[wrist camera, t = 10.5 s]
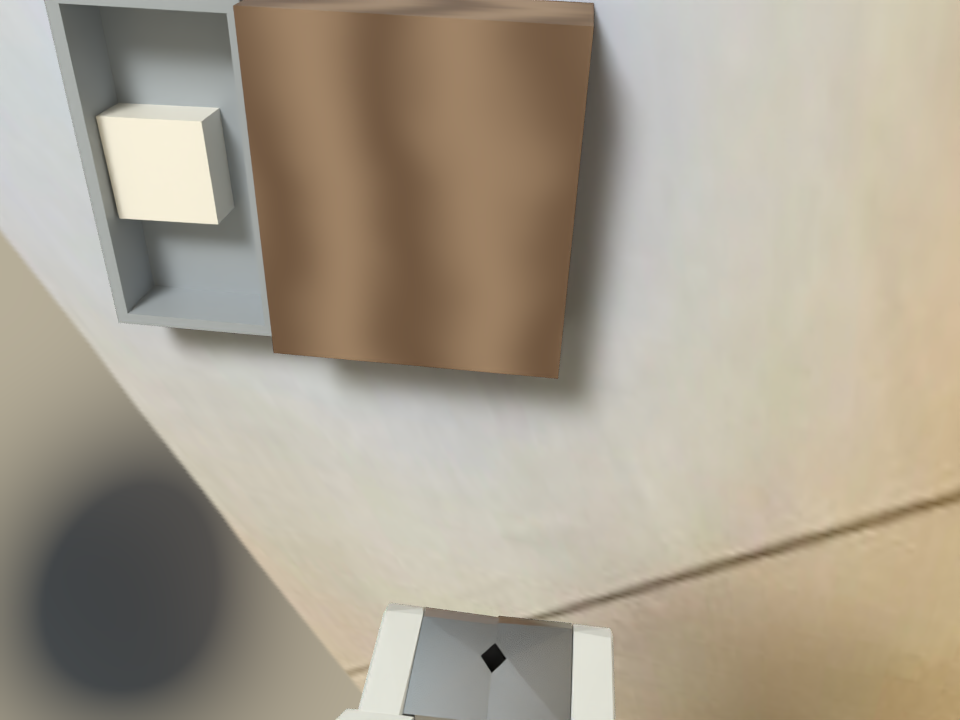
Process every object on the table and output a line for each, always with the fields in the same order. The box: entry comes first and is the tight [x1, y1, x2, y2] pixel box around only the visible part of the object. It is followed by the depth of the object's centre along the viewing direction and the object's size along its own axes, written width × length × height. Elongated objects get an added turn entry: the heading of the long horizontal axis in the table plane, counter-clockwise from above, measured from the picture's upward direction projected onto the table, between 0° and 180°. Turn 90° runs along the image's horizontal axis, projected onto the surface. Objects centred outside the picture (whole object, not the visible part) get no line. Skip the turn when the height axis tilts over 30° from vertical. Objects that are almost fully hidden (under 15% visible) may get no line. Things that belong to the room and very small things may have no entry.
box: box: [44, 0, 272, 336], centre depth 40 cm, size 8×16×4 cm, turn 178°
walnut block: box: [233, 0, 594, 379], centre depth 38 cm, size 14×16×5 cm
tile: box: [96, 103, 234, 224], centre depth 40 cm, size 5×5×2 cm
